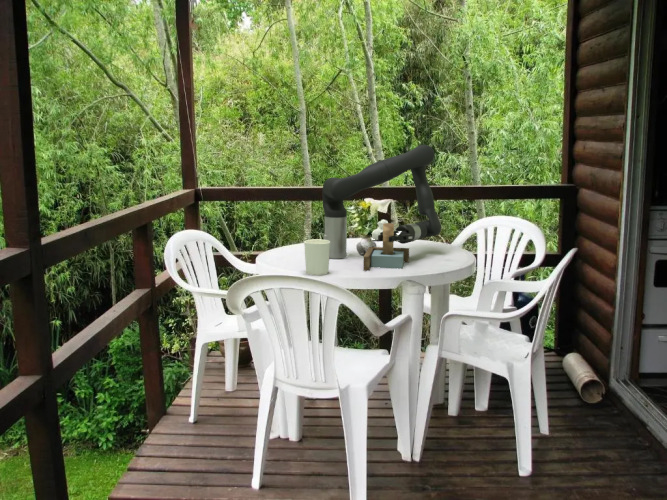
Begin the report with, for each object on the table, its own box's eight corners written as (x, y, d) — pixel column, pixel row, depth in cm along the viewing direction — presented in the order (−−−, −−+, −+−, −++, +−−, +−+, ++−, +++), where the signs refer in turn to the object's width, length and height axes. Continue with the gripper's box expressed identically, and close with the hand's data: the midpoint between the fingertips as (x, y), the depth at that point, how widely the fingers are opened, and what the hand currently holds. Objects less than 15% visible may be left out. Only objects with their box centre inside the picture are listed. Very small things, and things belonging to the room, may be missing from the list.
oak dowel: (382, 259, 260) (382, 224, 257) (383, 257, 264) (383, 223, 261) (392, 260, 259) (393, 224, 256) (393, 257, 263) (394, 223, 261)
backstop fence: (363, 270, 252) (363, 256, 251) (369, 259, 271) (369, 246, 270) (406, 272, 249) (406, 257, 248) (408, 261, 269) (409, 248, 268)
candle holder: (302, 270, 251) (301, 239, 249) (327, 269, 253) (327, 238, 251) (306, 276, 242) (306, 244, 239) (332, 275, 244) (333, 243, 242)
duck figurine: (373, 246, 314) (385, 229, 308) (363, 235, 317) (375, 218, 311) (387, 243, 323) (399, 226, 317) (377, 232, 326) (389, 215, 320)
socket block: (371, 268, 257) (371, 255, 256) (373, 262, 269) (374, 250, 268) (402, 269, 255) (402, 256, 254) (403, 263, 267) (403, 251, 266)
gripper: (393, 222, 274) (369, 227, 261) (423, 226, 266) (399, 231, 253) (393, 240, 276) (369, 246, 263) (422, 244, 267) (399, 250, 254)
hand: (384, 238), depth 258 cm, fingers open, 4 cm apart
